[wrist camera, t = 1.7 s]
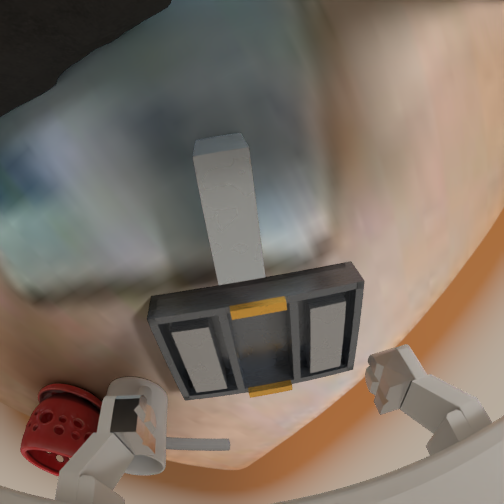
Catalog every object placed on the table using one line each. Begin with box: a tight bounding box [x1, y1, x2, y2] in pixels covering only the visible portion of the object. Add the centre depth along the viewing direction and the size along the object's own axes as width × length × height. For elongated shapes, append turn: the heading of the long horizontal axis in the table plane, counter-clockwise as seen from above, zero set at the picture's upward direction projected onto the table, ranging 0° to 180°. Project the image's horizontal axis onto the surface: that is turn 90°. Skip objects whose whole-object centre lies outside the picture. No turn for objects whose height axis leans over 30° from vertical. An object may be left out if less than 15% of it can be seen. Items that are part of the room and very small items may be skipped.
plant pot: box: [20, 383, 102, 476], centre depth 35 cm, size 13×13×12 cm
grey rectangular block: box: [192, 133, 265, 285], centre depth 25 cm, size 4×10×6 cm, turn 7°
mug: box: [107, 377, 168, 475], centre depth 34 cm, size 12×8×11 cm
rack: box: [147, 262, 364, 400], centre depth 34 cm, size 21×14×4 cm
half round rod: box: [166, 437, 230, 451], centre depth 47 cm, size 4×20×2 cm, turn 82°
